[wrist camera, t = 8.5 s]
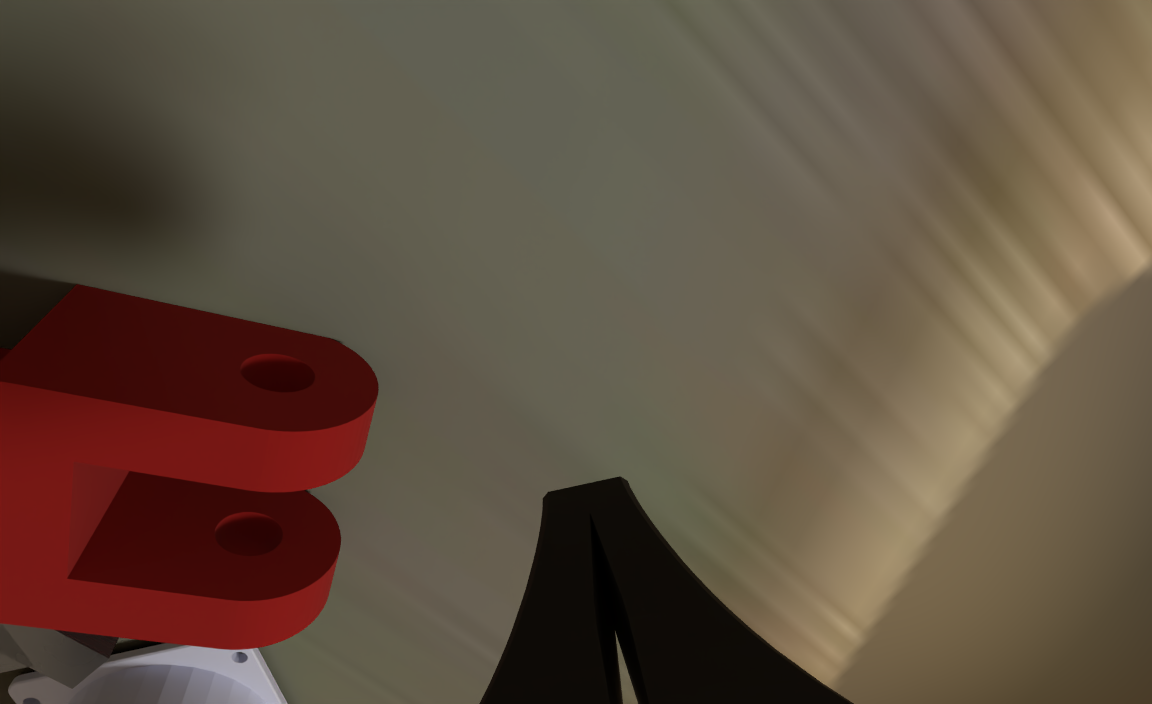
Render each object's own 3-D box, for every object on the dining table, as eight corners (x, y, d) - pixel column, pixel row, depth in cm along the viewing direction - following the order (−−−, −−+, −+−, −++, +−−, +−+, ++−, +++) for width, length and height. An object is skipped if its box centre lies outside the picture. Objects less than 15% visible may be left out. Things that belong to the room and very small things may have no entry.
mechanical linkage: (385, 346, 23) (368, 449, 19) (339, 535, 26) (316, 660, 22) (-289, 201, 19) (-504, 289, 15) (-251, 443, 22) (-422, 573, 18)
